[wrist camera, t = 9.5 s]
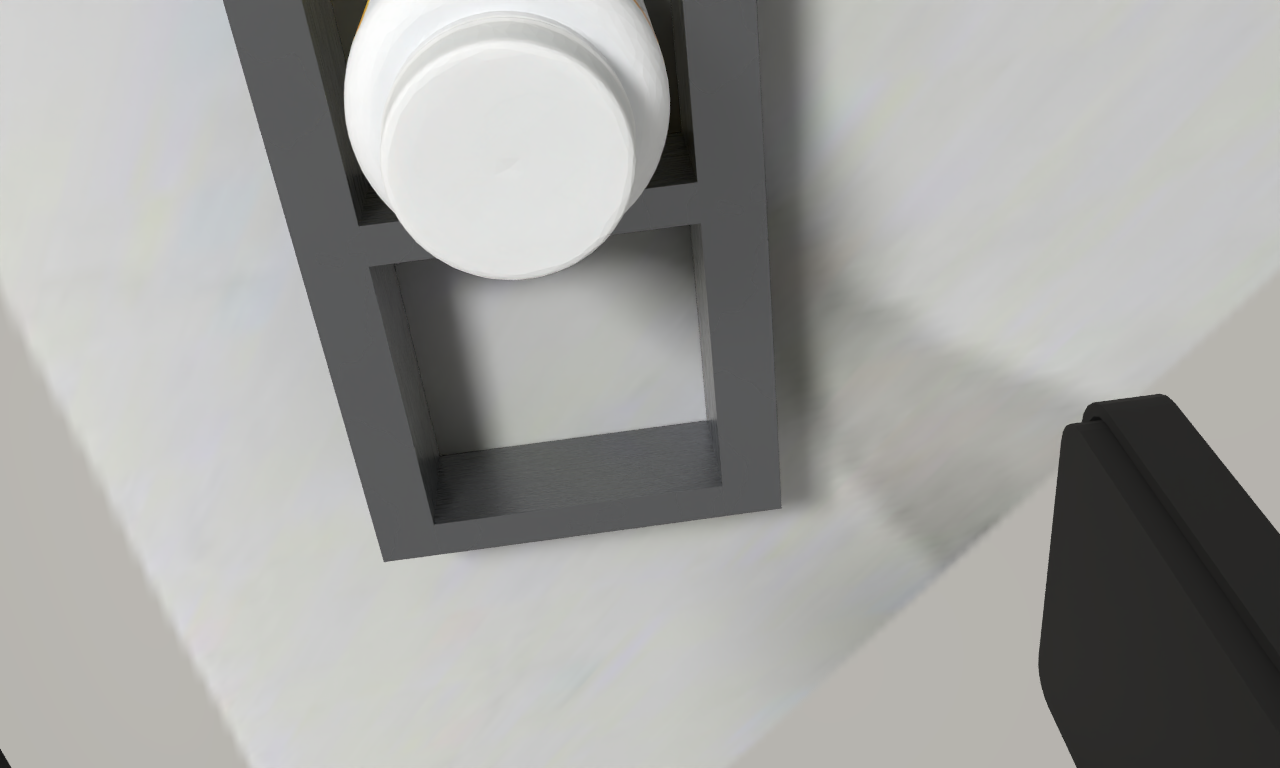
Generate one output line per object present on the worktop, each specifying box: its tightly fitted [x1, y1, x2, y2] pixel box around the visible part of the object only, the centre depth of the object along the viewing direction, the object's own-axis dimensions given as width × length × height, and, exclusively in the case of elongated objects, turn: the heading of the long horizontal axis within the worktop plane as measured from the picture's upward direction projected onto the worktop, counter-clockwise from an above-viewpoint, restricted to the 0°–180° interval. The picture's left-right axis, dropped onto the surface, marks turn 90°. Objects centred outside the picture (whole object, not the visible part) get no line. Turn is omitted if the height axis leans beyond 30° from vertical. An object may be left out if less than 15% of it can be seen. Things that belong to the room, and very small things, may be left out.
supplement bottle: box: [344, 0, 670, 280], centre depth 23 cm, size 6×6×10 cm
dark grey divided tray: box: [223, 0, 781, 562], centre depth 28 cm, size 18×10×3 cm, turn 6°
